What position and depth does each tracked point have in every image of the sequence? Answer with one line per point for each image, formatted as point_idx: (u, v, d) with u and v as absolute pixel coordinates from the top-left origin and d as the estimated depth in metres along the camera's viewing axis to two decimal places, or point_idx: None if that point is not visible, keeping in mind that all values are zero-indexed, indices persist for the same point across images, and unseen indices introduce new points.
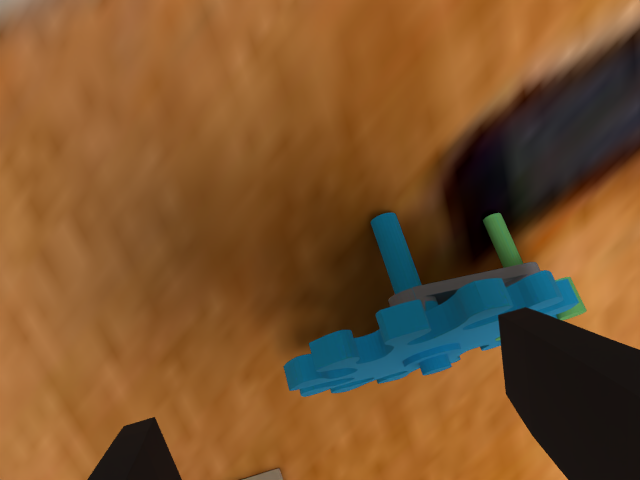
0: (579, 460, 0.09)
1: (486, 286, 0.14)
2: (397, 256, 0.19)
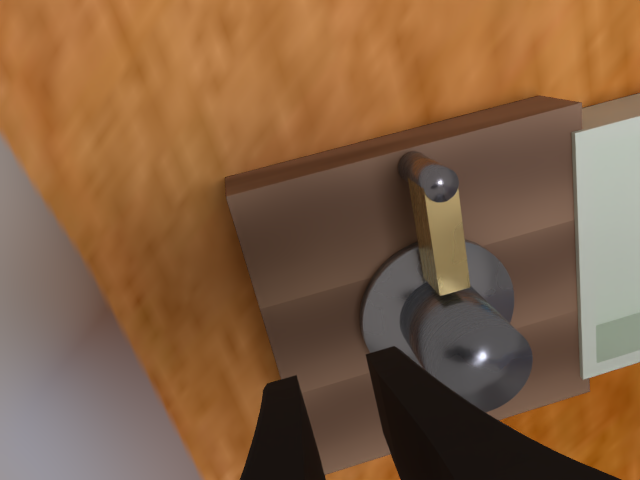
0: None
1: None
2: None
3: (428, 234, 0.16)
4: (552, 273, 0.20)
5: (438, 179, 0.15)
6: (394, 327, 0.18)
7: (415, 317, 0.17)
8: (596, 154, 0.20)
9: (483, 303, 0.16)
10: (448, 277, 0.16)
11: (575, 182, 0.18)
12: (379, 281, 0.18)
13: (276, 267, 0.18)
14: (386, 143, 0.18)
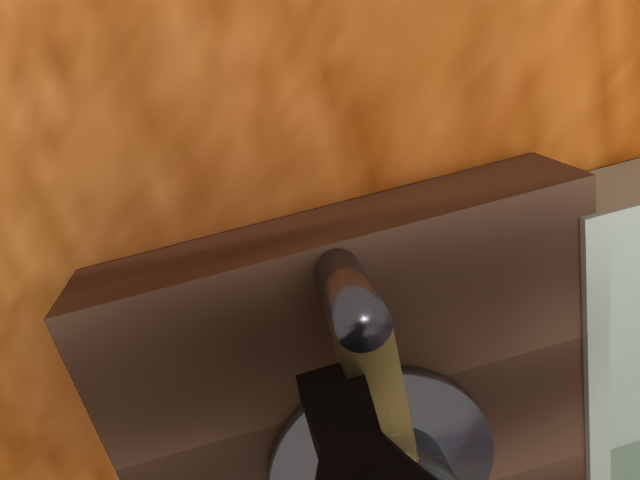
0: None
1: None
2: None
3: None
4: (549, 407, 0.14)
5: (357, 319, 0.09)
6: None
7: None
8: None
9: None
10: None
11: (584, 288, 0.12)
12: (291, 436, 0.12)
13: (135, 414, 0.12)
14: (306, 227, 0.12)
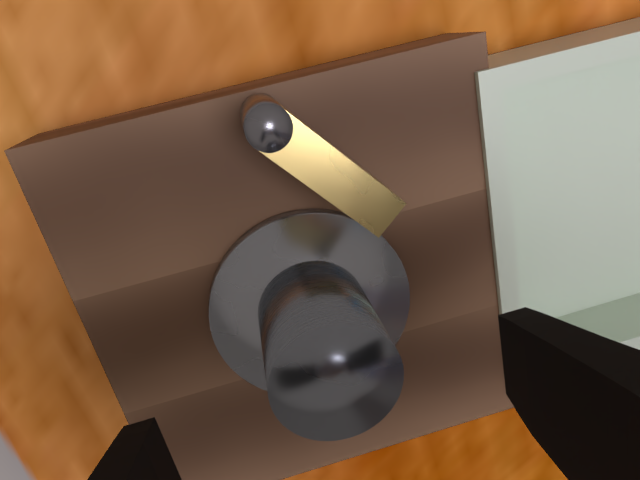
0: (579, 461, 0.09)
1: None
2: None
3: (308, 185, 0.12)
4: (461, 257, 0.15)
5: (258, 125, 0.11)
6: (252, 326, 0.14)
7: (265, 312, 0.13)
8: (522, 109, 0.16)
9: (346, 293, 0.12)
10: (371, 213, 0.12)
11: (483, 139, 0.14)
12: (224, 266, 0.14)
13: (88, 247, 0.13)
14: (238, 88, 0.14)
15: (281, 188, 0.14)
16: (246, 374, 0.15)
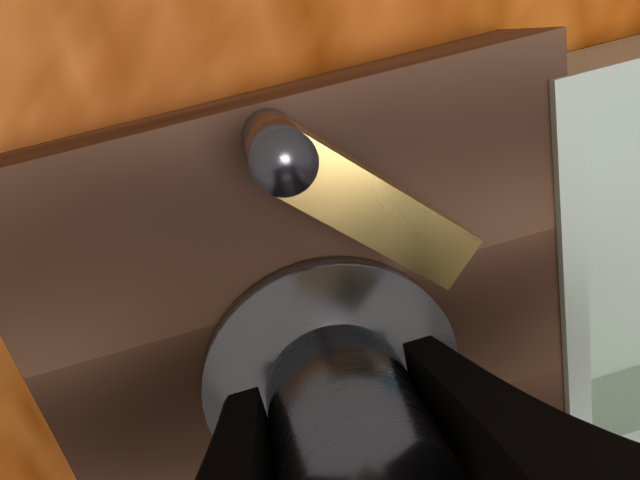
0: None
1: None
2: None
3: (347, 231, 0.08)
4: (521, 312, 0.12)
5: (269, 161, 0.07)
6: None
7: (276, 399, 0.10)
8: (592, 124, 0.13)
9: (387, 380, 0.09)
10: (436, 259, 0.09)
11: (556, 166, 0.11)
12: (222, 335, 0.10)
13: (42, 310, 0.10)
14: (239, 100, 0.11)
15: (295, 231, 0.11)
16: None
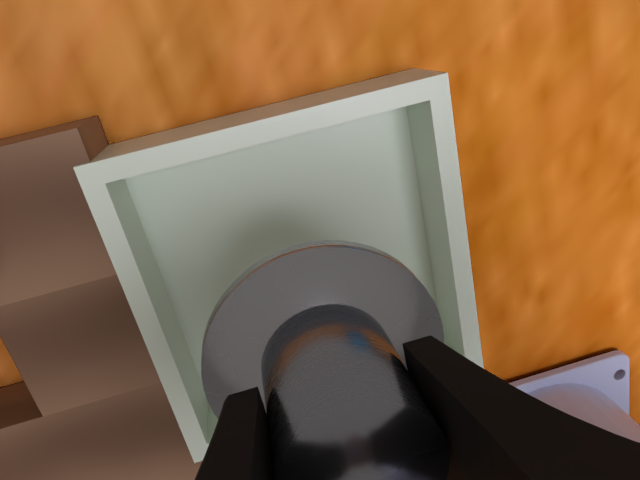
0: None
1: None
2: None
3: None
4: (110, 339, 0.16)
5: None
6: (254, 383, 0.12)
7: (271, 374, 0.11)
8: (187, 187, 0.16)
9: (373, 352, 0.10)
10: None
11: (99, 229, 0.14)
12: (220, 315, 0.11)
13: None
14: None
15: None
16: None
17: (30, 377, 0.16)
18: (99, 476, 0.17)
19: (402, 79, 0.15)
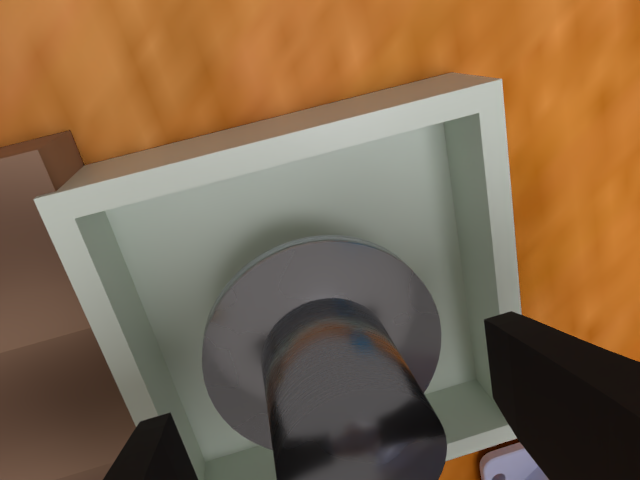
0: (562, 466, 0.09)
1: None
2: None
3: None
4: (84, 403, 0.13)
5: None
6: (254, 377, 0.12)
7: (270, 366, 0.11)
8: (180, 216, 0.14)
9: (370, 343, 0.10)
10: None
11: (68, 274, 0.11)
12: (220, 309, 0.11)
13: None
14: None
15: None
16: (249, 432, 0.13)
17: None
18: None
19: (443, 86, 0.12)
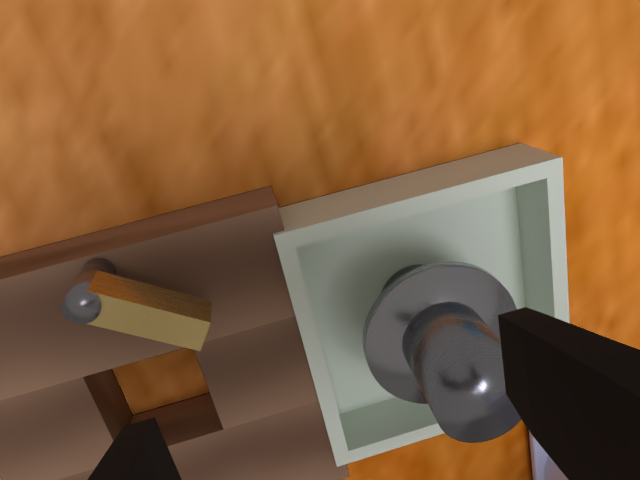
0: (579, 460, 0.09)
1: None
2: None
3: (132, 330, 0.15)
4: (282, 367, 0.19)
5: (72, 308, 0.14)
6: (397, 353, 0.19)
7: (415, 346, 0.17)
8: (338, 242, 0.20)
9: (482, 331, 0.16)
10: (186, 337, 0.15)
11: (286, 281, 0.18)
12: (379, 311, 0.18)
13: None
14: (91, 242, 0.18)
15: None
16: (391, 389, 0.19)
17: (218, 398, 0.19)
18: (260, 478, 0.21)
19: (521, 159, 0.19)
